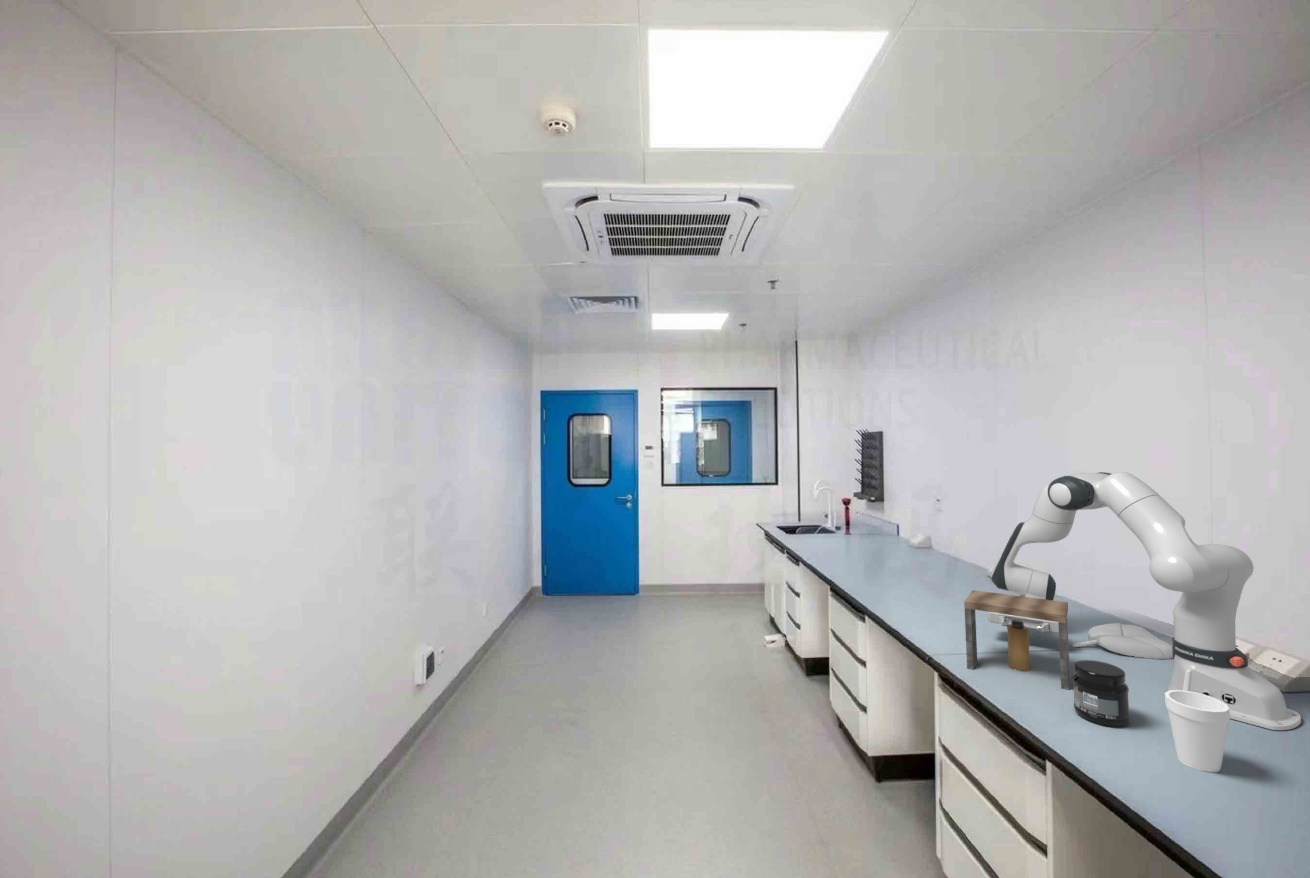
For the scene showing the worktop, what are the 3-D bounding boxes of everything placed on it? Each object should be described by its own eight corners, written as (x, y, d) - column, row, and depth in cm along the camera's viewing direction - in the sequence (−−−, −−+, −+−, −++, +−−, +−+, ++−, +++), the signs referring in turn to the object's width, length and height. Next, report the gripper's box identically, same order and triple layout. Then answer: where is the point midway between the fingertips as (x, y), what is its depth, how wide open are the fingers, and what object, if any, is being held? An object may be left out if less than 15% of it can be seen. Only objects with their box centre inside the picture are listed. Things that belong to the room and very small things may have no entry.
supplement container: (1120, 710, 133) (1118, 662, 133) (1137, 732, 123) (1135, 680, 123) (1068, 703, 137) (1066, 656, 137) (1081, 723, 128) (1079, 673, 128)
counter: (1070, 671, 155) (1067, 602, 155) (1068, 689, 144) (1065, 615, 144) (975, 652, 170) (972, 590, 170) (967, 668, 159) (964, 601, 160)
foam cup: (1197, 748, 116) (1195, 689, 116) (1245, 775, 107) (1243, 710, 107) (1155, 751, 116) (1152, 691, 116) (1199, 778, 107) (1197, 713, 107)
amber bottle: (1034, 668, 157) (1032, 622, 157) (1023, 672, 155) (1021, 625, 155) (1015, 662, 162) (1013, 617, 162) (1005, 666, 160) (1003, 620, 160)
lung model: (1185, 660, 159) (1093, 666, 163) (1141, 639, 176) (1058, 645, 180) (1181, 638, 159) (1089, 644, 163) (1138, 619, 176) (1055, 626, 180)
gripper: (990, 600, 185) (983, 611, 175) (1064, 610, 172) (1061, 622, 162) (990, 618, 185) (984, 630, 175) (1064, 629, 172) (1062, 643, 162)
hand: (1022, 626), depth 168 cm, fingers open, 8 cm apart
